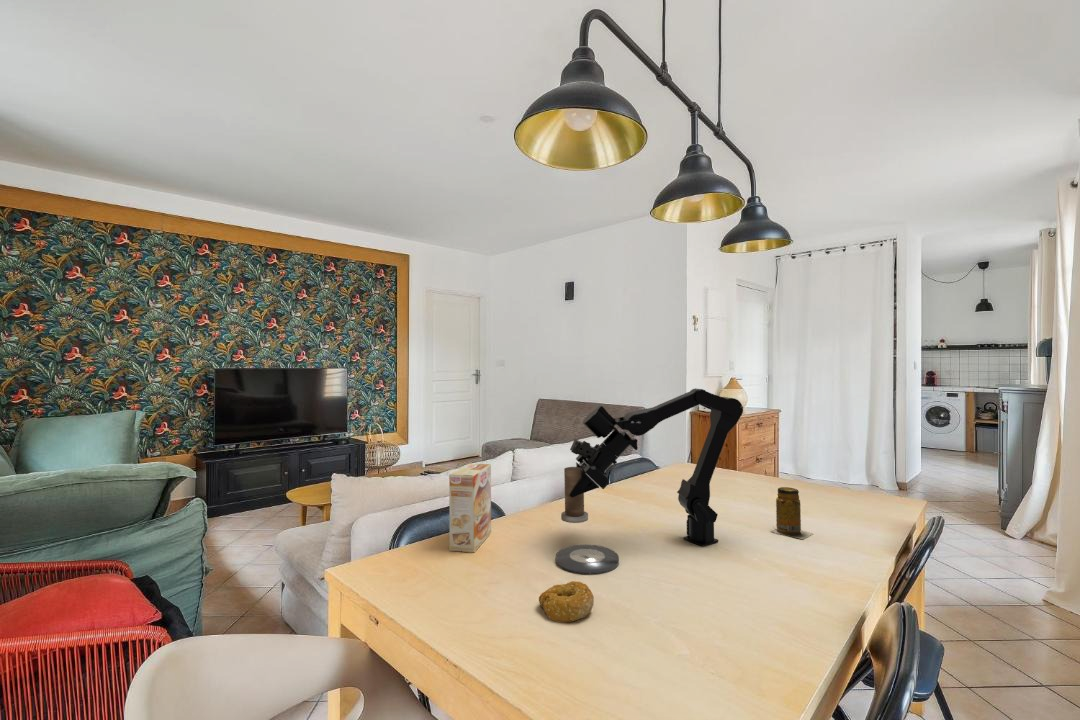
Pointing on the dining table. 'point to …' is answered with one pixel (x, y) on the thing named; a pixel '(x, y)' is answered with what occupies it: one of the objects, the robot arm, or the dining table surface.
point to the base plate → (587, 559)
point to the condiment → (789, 513)
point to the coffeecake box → (470, 507)
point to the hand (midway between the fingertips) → (569, 493)
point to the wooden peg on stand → (576, 504)
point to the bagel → (567, 601)
